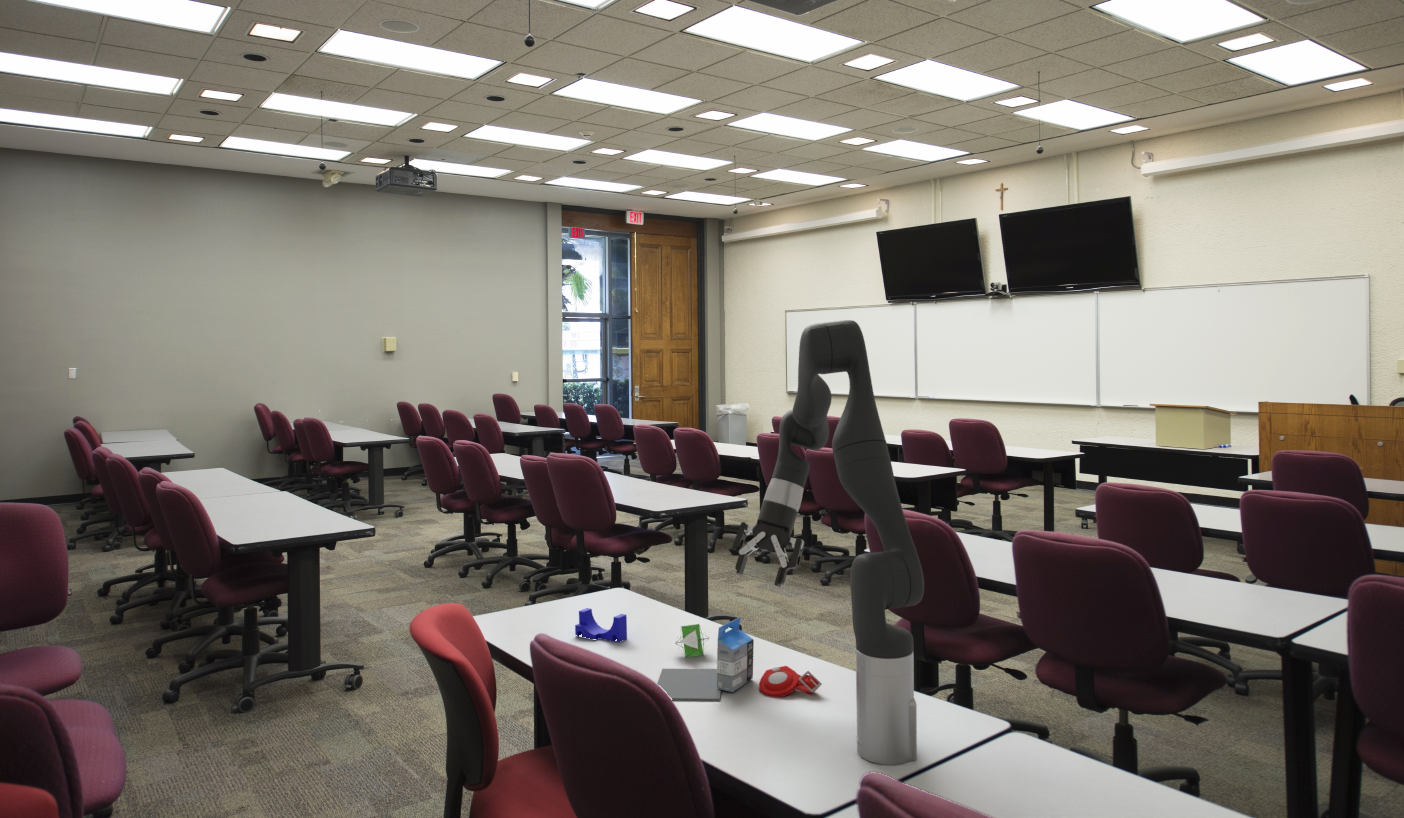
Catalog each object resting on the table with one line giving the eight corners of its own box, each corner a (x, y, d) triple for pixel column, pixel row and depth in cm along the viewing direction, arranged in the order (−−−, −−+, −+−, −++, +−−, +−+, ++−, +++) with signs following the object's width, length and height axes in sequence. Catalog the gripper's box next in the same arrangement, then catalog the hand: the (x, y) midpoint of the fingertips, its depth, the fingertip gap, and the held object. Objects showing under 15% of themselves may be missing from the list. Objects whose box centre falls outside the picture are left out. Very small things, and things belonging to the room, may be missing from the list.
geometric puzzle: (670, 639, 194) (676, 617, 189) (699, 636, 197) (705, 614, 192) (678, 666, 189) (685, 645, 184) (708, 662, 191) (714, 640, 186)
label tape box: (732, 693, 167) (735, 631, 166) (714, 688, 169) (717, 627, 168) (753, 679, 175) (756, 620, 174) (735, 675, 177) (738, 616, 176)
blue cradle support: (575, 637, 205) (574, 612, 205) (587, 632, 209) (586, 607, 208) (615, 645, 199) (614, 619, 198) (627, 639, 202) (626, 614, 202)
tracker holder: (759, 694, 164) (754, 664, 174) (764, 713, 166) (759, 683, 175) (821, 679, 164) (812, 650, 174) (825, 698, 165) (817, 668, 175)
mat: (723, 670, 180) (723, 668, 180) (719, 700, 164) (719, 698, 164) (662, 670, 181) (662, 668, 181) (652, 699, 165) (652, 697, 165)
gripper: (744, 492, 178) (720, 567, 175) (808, 509, 172) (784, 587, 168) (755, 499, 184) (733, 572, 181) (817, 516, 178) (795, 592, 175)
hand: (758, 579), depth 175 cm, fingers open, 8 cm apart
